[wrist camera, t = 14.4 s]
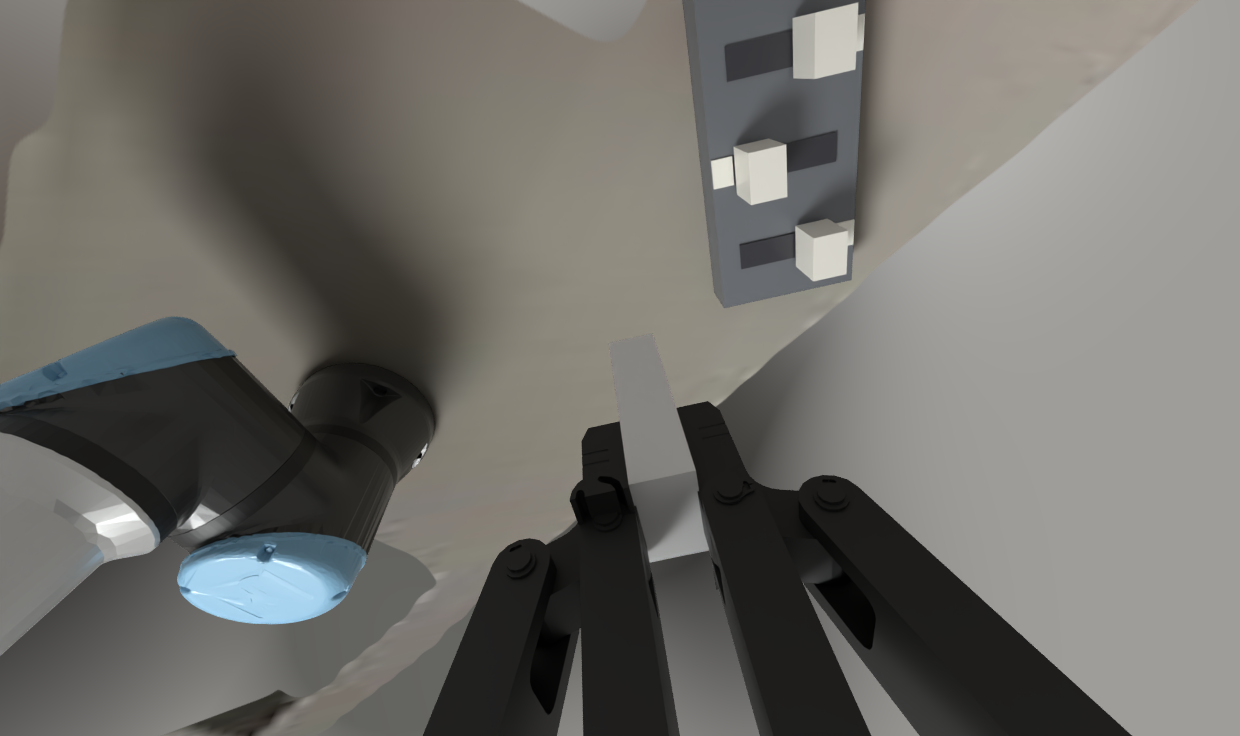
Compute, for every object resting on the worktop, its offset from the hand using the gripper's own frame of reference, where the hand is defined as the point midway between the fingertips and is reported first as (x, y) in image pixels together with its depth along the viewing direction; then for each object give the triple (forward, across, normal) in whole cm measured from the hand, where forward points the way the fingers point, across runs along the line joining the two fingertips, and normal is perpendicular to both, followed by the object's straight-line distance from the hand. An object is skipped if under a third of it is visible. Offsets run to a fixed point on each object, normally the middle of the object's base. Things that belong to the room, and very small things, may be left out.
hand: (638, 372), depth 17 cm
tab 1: (+30, +14, -1) cm, 33 cm away
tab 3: (+30, +19, -9) cm, 36 cm away
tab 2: (+30, +19, +7) cm, 36 cm away
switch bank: (+34, +16, -1) cm, 38 cm away
